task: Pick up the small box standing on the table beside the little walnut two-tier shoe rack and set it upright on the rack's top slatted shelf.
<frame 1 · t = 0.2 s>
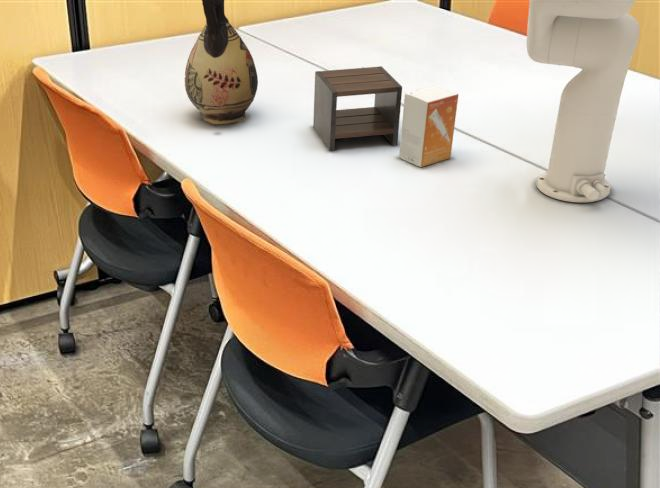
rack: (354, 136, 201), on the table
ceramic jug: (220, 119, 211), on the table
small box: (424, 159, 190), on the table
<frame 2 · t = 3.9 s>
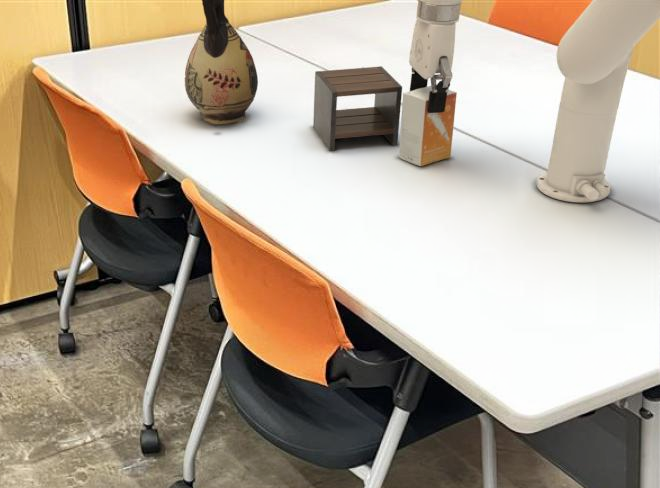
hand: (426, 102, 185), 11 cm above the table, tool pointing down, fingers open, 9 cm apart
nothing on the table moved.
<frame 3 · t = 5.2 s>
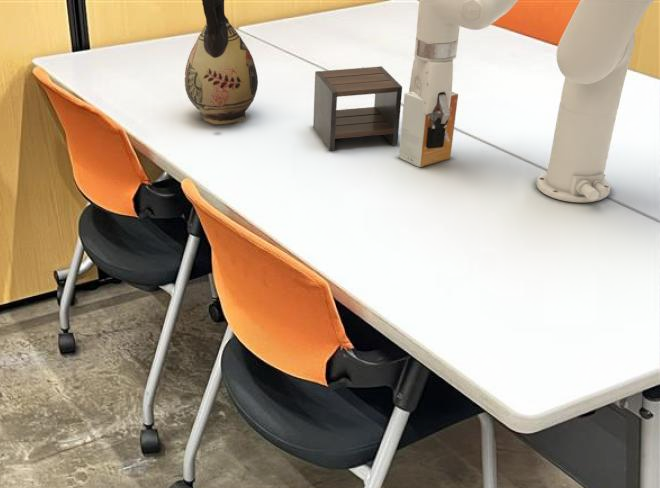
hand: (426, 138, 188), 4 cm above the table, tool pointing down, fingers closed on small box, 8 cm apart
small box: (424, 159, 190), on the table, touching gripper
everything else where it was.
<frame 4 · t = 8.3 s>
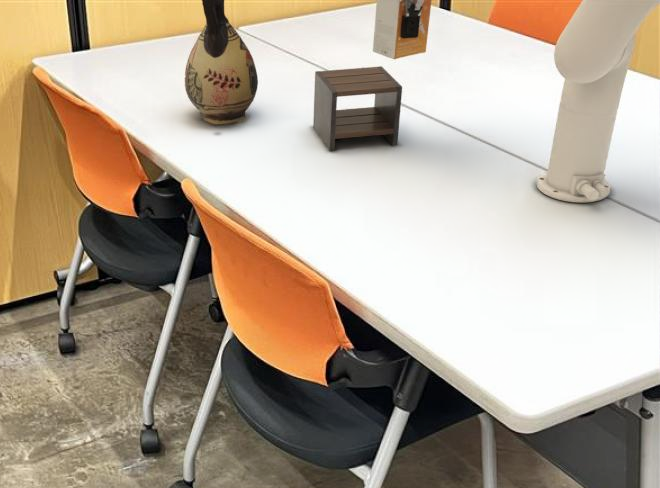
hand: (401, 30, 182), 23 cm above the table, tool pointing down, fingers closed on small box, 8 cm apart
small box: (399, 53, 185), point 19 cm above the table, touching gripper
everything else where it was.
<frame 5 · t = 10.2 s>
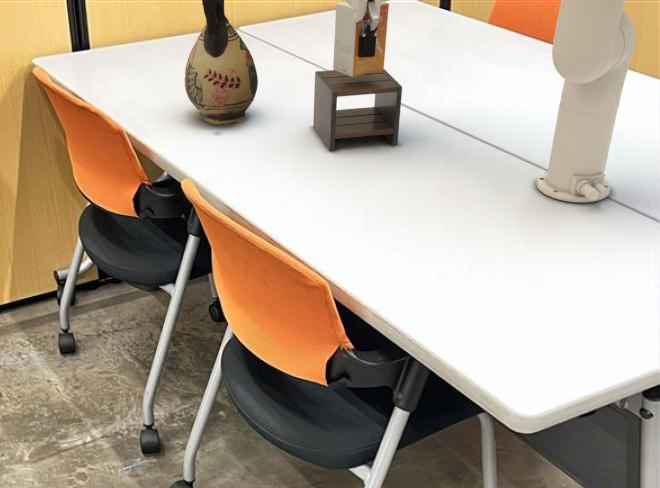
hand: (359, 49, 191), 18 cm above the table, tool pointing down, fingers closed on small box, 8 cm apart
small box: (358, 71, 193), point 14 cm above the table, touching gripper
everything else where it was.
when the fingers open (16 cm above the table, at t = 11.4 s): small box stays where it is, resting on rack.
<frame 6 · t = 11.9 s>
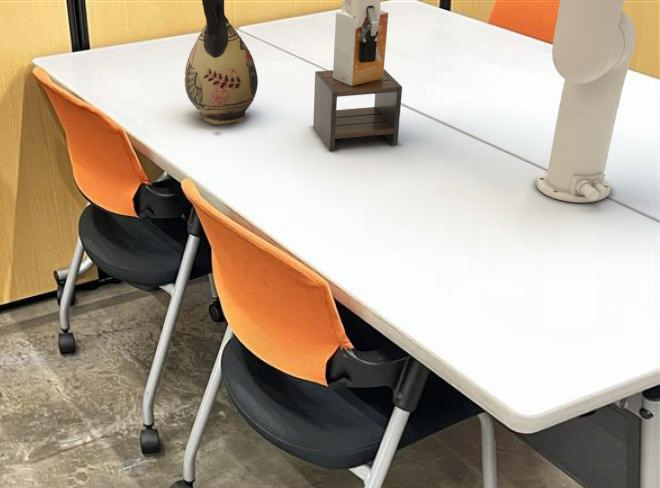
hand: (359, 54, 191), 17 cm above the table, tool pointing down, fingers open, 9 cm apart
small box: (358, 79, 194), point 12 cm above the table, touching rack
everything else where it was.
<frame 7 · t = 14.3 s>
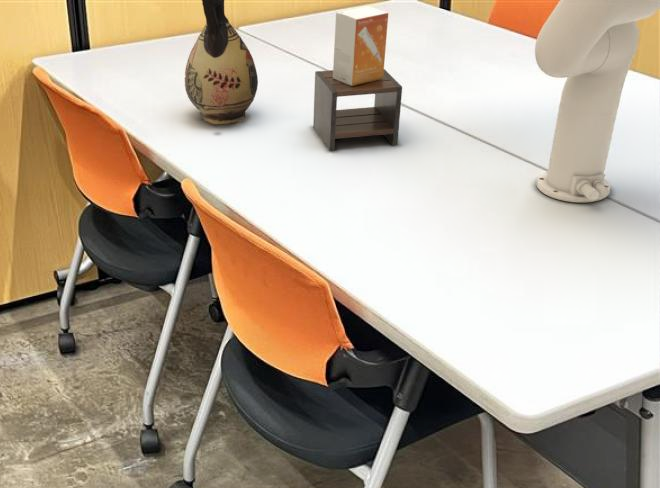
nothing on the table moved.
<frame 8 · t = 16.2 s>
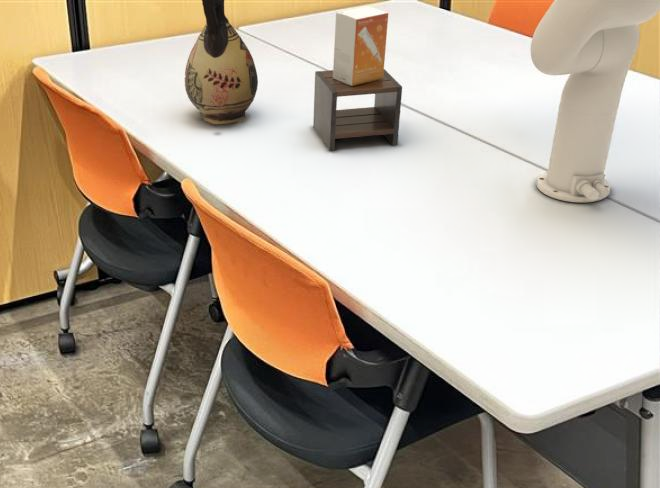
nothing on the table moved.
at the end: small box inside the target area on the rack (0.1 cm from its centre), point 11.8 cm above the rack's base; small box tilted 0°; the gripper is holding nothing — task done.
